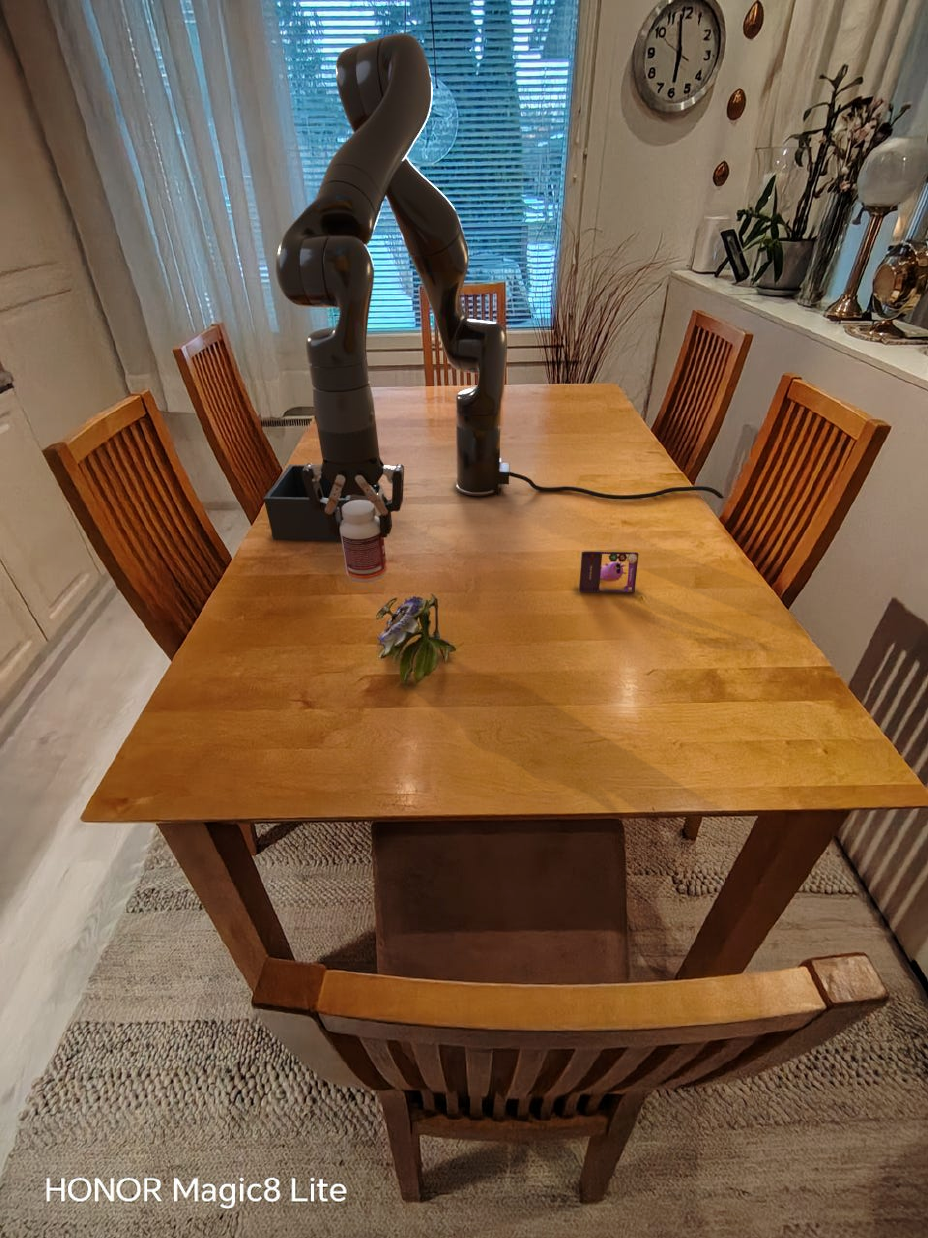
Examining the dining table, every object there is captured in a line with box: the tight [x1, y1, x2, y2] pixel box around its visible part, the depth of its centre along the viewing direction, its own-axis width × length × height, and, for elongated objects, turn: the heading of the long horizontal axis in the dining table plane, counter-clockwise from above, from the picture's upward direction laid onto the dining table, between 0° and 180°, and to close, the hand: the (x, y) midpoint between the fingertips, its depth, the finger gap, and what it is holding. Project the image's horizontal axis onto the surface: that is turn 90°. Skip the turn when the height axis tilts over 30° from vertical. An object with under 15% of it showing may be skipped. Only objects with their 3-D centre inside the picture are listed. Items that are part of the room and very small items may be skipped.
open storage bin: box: [263, 464, 370, 542], centre depth 115 cm, size 16×16×8 cm
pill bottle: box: [339, 500, 388, 584], centre depth 86 cm, size 6×6×11 cm
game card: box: [578, 550, 640, 594], centre depth 97 cm, size 7×5×9 cm
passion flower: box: [375, 593, 457, 686], centre depth 82 cm, size 11×11×12 cm
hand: (361, 534), depth 85 cm, fingers closed on pill bottle, 6 cm apart
